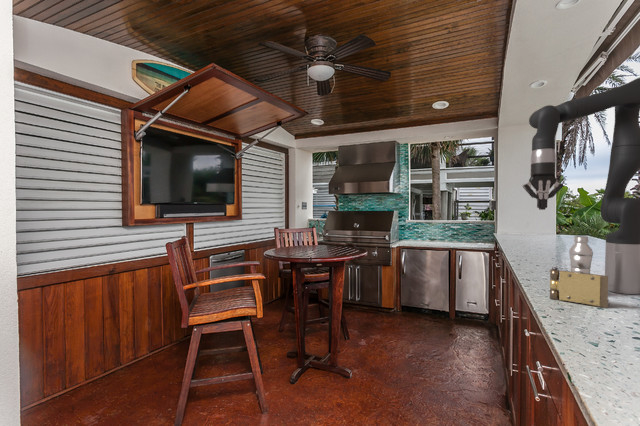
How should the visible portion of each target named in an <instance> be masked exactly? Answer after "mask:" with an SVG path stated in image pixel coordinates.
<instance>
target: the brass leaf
mask: <svg viewBox="0 0 640 426" xmlns="http://www.w3.org/2000/svg"><path fill="white" fill-rule="evenodd" d="M565 271H566V270H562V271H561V270H559V280H553V279H550V278H549V290H550V289H553V290H559V301H561V300H566V301H565V302H567V301H572V302H571V303H573V302H578V303H577V304H579V303H584V304H583V305H585V304H590V305H589V306H591V305H596V306H595V307H597V306H600V277H601V276H599V275H600V274H596V275H590V274H591V273H590V274H582V273H573V272H571V271H570V272H565Z"/></svg>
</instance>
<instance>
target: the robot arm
mask: <svg viewBox="0 0 640 426" xmlns="http://www.w3.org/2000/svg"><path fill="white" fill-rule="evenodd" d="M612 108H614V126H613V136H612V143H611V148H610V155H609V166H608V173H607V179H606V183H605V188H604V193H603V196H602V199H601V204H600V215H601V219H602V220H603V221H604V222H606V223H609V224H619V228H618V229H617V230H616V231H613V232H610V233H607V234H606V236H605V249H604V250H605V253H604V254H605V255H604V256H605V257H604V259H605V260H604V275H605V276H608V292H613V293H616V294H623V295H624V294H625V295H640V198H639V197H638V198H636V197H625V195H626V190H627V186H628V185H629V183H630V181H631V180H632V179H633V177H635V175H636V174H637V173H638V172H639V171H640V122H639V121H640V120H639V118H640V77H637V78H635V79H633V80H631V81H629V82H627V83H625V84H623V85H620V86H617V87H614V88H611V89H608V90H605V91H602V92H598V93H597V92H596V93H594V94H590V95H589V94H588V95H586V96H581V97H578V98H574V99H571V100H567V101H565V102H562V103H560V104H558V105H551V104H549V105H545V106H543V107H540V108H539V109H537V110H535V111H533V112H532V114H530V116H529V118H528V123H529V125H530V126H531V128H534V129H535V130H536V133H535V134H534V135H533V137H532V141H531V156H530V178H529V179H528V182H527V183H524V184H523V185H522V188H523V189H524V190H525V191H526V193H527V194H528V195H529V196H530V197H531V198H534V199H536V201H537V202H536V208H537V209H538V210H540V211H541V210H545V211H546V209H547V208H548V200H549V199H552V198H553V197H555V196H556V195H557V193H558V192H559V191H561V189H562V188H563V187H564V184H563V183H560V182H559V181H557V177H556V164H557V163H556V162H557V159H556V158H557V157H556V156H557V155H556V135H557V132H558V128H559V124H561V123H565V122H570V121H574V120H578V119H581V118H585V117H588V116H591V115H594V114H597V113H600V112H603V111H605V110H608V109H612ZM532 188H533V189H532ZM551 188H553V189H552V190H551ZM534 190H535V192H534ZM550 190H551V191H550Z"/></svg>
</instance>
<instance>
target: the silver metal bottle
mask: <svg viewBox="0 0 640 426" xmlns="http://www.w3.org/2000/svg"><path fill="white" fill-rule="evenodd" d="M573 241H574V243H573V245H571V247H570V248H569V251H568V253H569V254H568V255H569V260H570V272H579V273H587V274H591V267H592V266H591V265H592V260H593V256H594V251H593V249H592V248H591V247H590V245H589V244H588V243H589V237H588V236H586V235H585V236H584V235H575V236H574V240H573Z"/></svg>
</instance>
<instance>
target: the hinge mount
mask: <svg viewBox="0 0 640 426" xmlns="http://www.w3.org/2000/svg"><path fill="white" fill-rule="evenodd" d="M549 271H550V273H549V280H550V279H553V280H559V281H560V271H563V270H562V269H561V270H559V269H558V267H557V266H552V267H551V268H550V270H549ZM564 271H565V272H571V270H569V271H567V270H564ZM573 273H579V272H573ZM582 274H587V273H582ZM590 275H597V274H593V273H590ZM598 275H599V276H601V277H600V306H596V305H590V304H586V305H587V306H592V307H599V308H605V309H608V307H609V300H610V299H608V298H609V291H608V276H605V274H598ZM549 299H550V300H554V301H558V300H559V301H563V302H567V301H566V300H560V299H559V290H553V289H550V288H549ZM567 303H573V302H572V301H568V302H567ZM575 304H579V303H578V302H575ZM581 304H582V305H585V304H584V303H581Z"/></svg>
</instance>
